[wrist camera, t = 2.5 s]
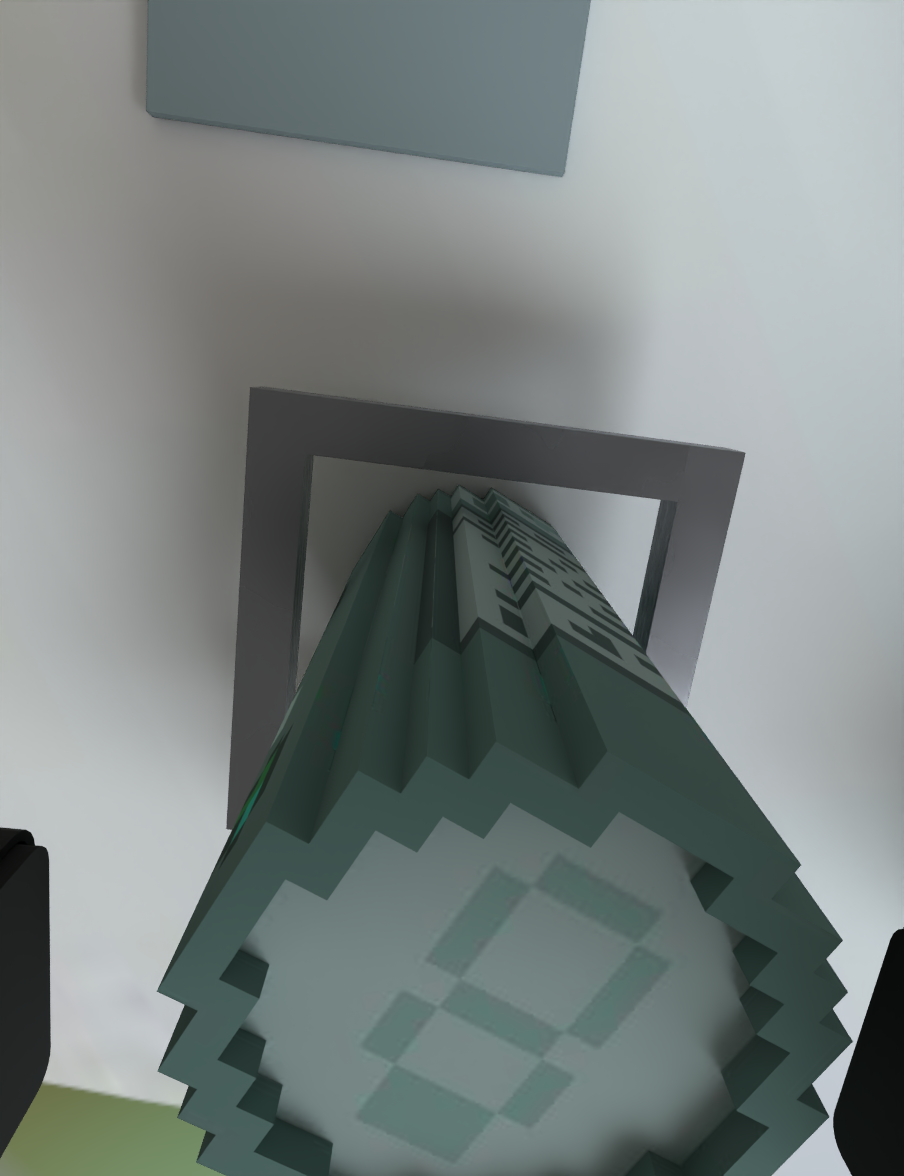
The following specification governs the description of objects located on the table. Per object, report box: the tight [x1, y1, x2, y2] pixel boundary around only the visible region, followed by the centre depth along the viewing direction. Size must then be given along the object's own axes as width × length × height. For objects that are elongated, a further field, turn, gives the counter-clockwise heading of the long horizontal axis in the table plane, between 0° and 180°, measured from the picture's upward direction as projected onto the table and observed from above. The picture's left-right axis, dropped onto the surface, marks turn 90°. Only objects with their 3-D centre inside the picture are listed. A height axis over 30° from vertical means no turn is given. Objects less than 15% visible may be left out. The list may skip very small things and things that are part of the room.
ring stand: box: [227, 387, 745, 830], centre depth 16 cm, size 18×10×14 cm, turn 173°
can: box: [157, 485, 853, 1176], centre depth 14 cm, size 6×6×15 cm
